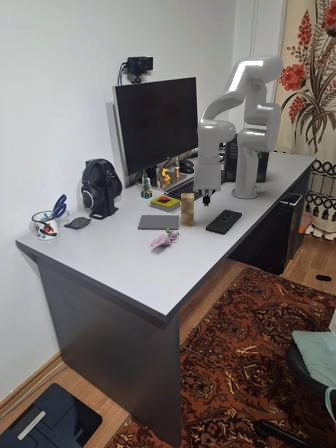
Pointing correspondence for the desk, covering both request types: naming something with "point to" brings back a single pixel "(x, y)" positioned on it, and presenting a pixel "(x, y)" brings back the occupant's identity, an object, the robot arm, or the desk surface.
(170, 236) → the pink creature figurine
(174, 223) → the charcoal mat
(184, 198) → the oak block
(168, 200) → the emergency button
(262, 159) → the headset box
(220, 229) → the smart home device
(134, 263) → the desk surface
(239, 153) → the robot arm
